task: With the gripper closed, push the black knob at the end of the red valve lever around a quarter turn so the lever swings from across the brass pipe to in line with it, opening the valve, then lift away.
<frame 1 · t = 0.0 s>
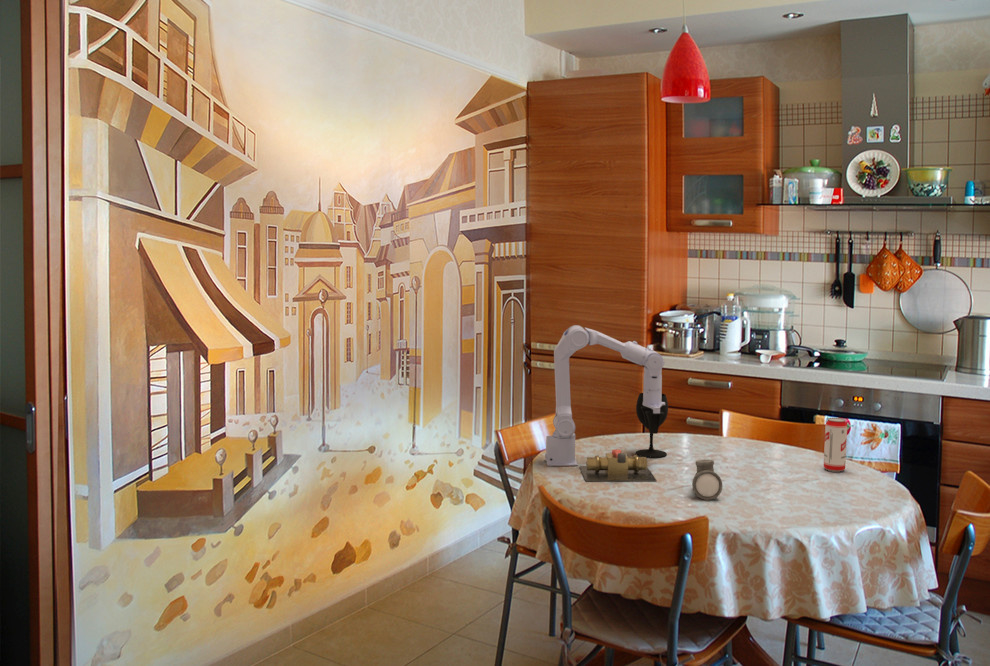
hand: (651, 431, 272), 10 cm above the table, fingers open, 6 cm apart
beer can: (834, 470, 264), on the table
valve: (616, 473, 261), on the table
lever: (619, 454, 256), point 7 cm above the table, hinge at 0.0°
wine glass: (651, 454, 283), on the table, touching gripper
pipe fitting: (705, 494, 241), on the table
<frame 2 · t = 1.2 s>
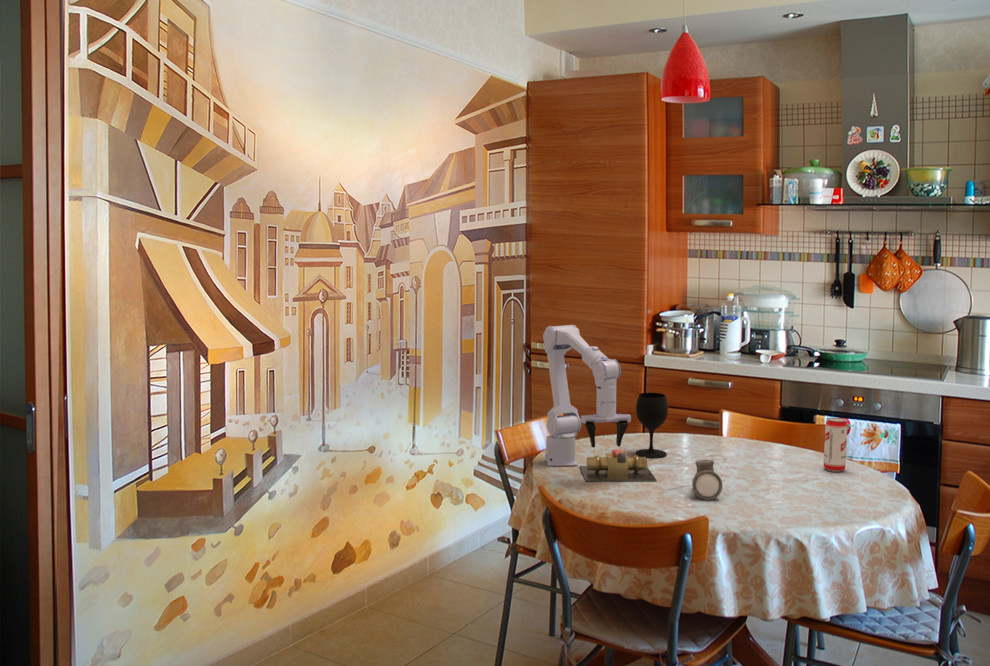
hand: (605, 446, 252), 10 cm above the table, fingers open, 7 cm apart
wine glass: (650, 454, 283), on the table
everything else where it was.
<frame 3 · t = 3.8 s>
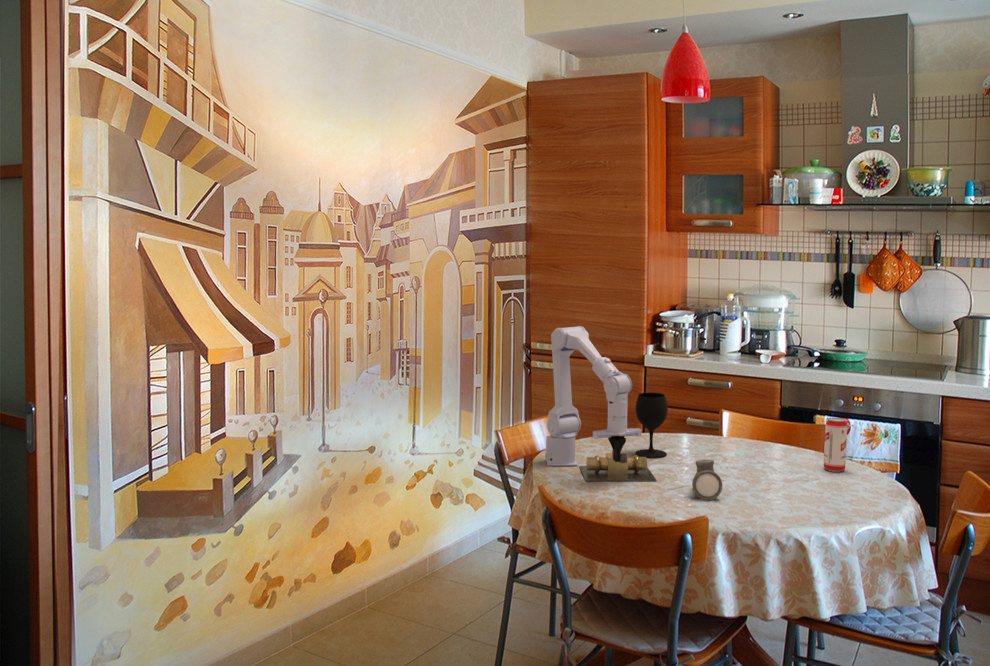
hand: (616, 460, 252), 6 cm above the table, fingers closed, pressing on lever
lever: (619, 454, 256), point 7 cm above the table, hinge at 2.7°, touching gripper
everything else where it was.
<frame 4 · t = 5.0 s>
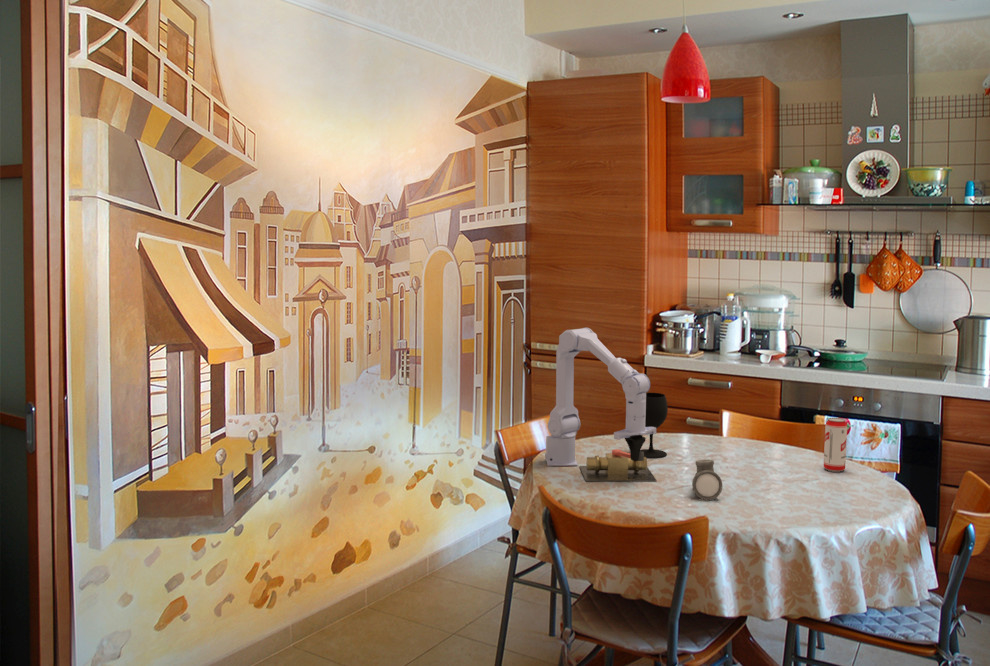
hand: (634, 460, 253), 6 cm above the table, fingers closed, pressing on lever
lever: (627, 453, 257), point 7 cm above the table, hinge at 39.9°, touching gripper
everything else where it was.
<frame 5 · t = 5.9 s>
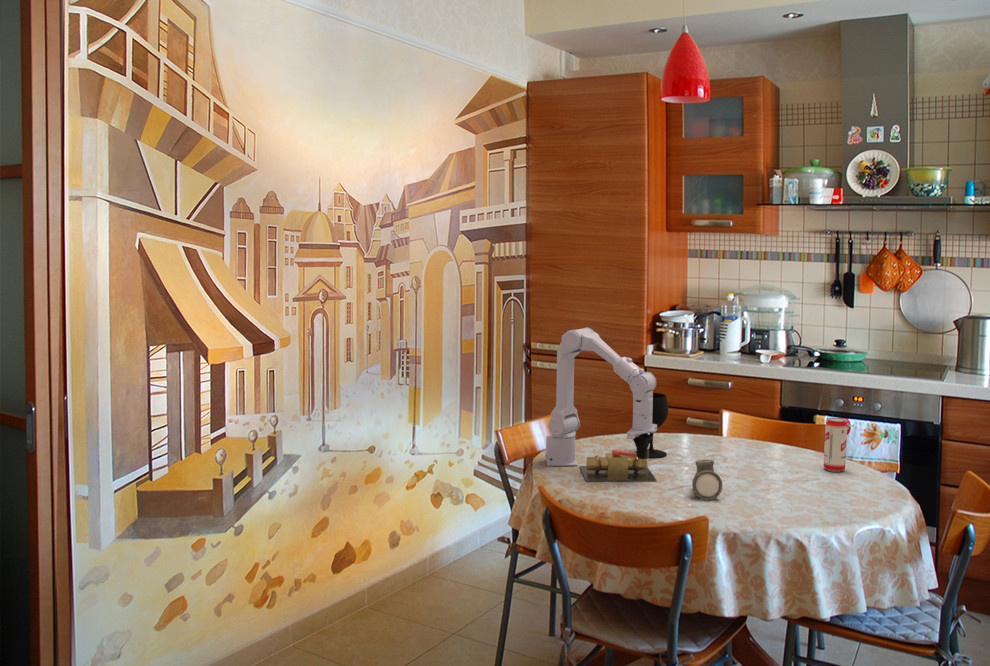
hand: (641, 458, 254), 6 cm above the table, fingers closed, pressing on lever
lever: (630, 452, 258), point 7 cm above the table, hinge at 59.1°, touching gripper
everything else where it was.
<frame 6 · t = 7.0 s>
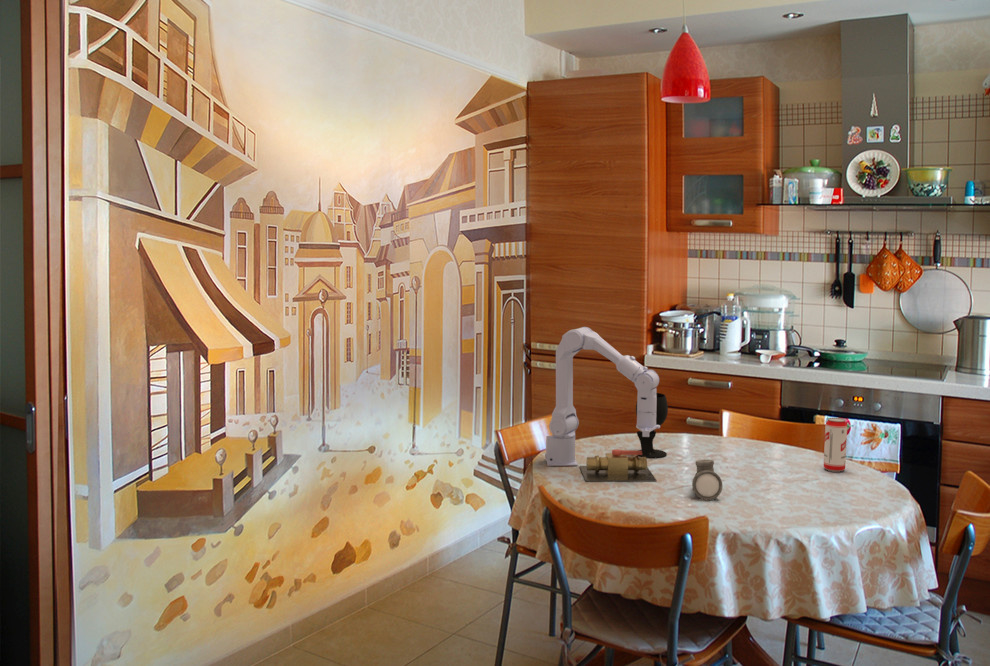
hand: (646, 454, 258), 6 cm above the table, fingers closed, pressing on lever
lever: (631, 450, 260), point 7 cm above the table, hinge at 86.8°, touching gripper
everything else where it was.
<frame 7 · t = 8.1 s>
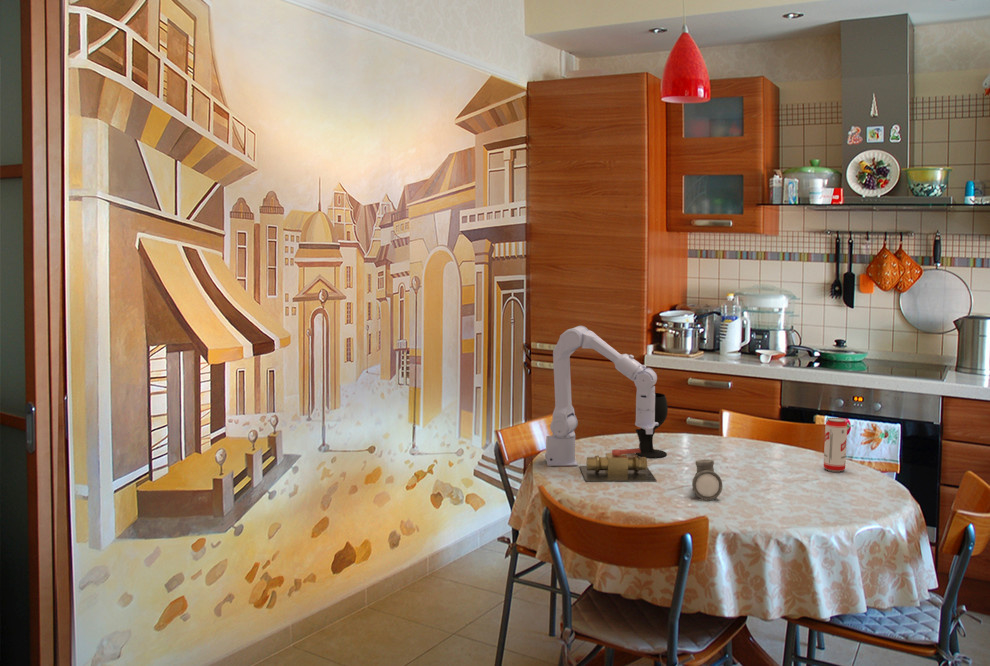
hand: (644, 452, 261), 6 cm above the table, fingers closed, pressing on lever
lever: (629, 449, 262), point 7 cm above the table, hinge at 108.0°, touching gripper
everything else where it was.
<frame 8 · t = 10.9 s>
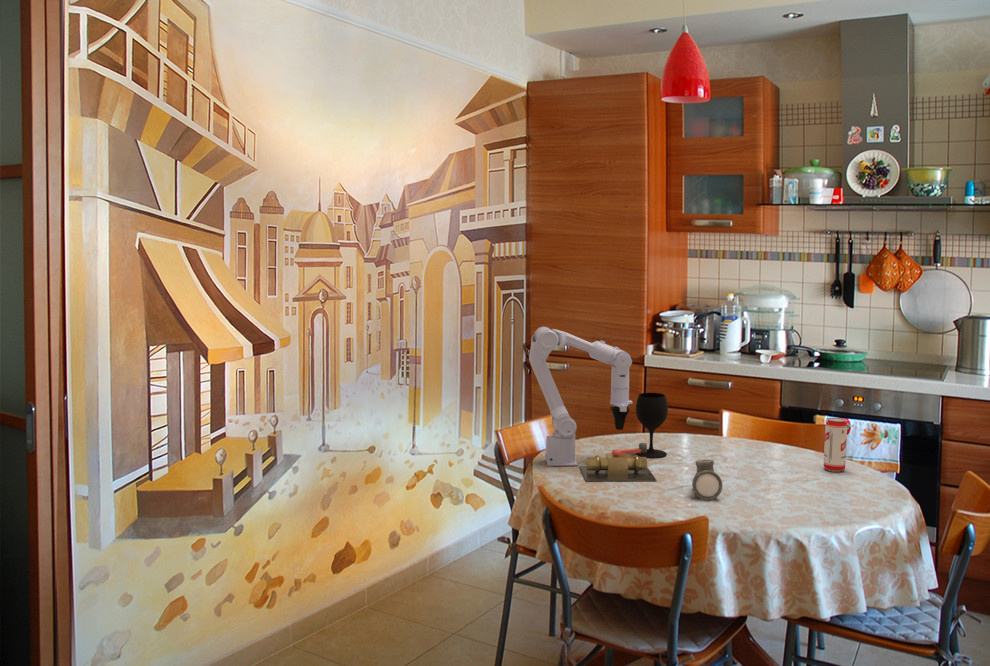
hand: (619, 429, 274), 10 cm above the table, fingers closed
lever: (629, 449, 262), point 7 cm above the table, hinge at 108.5°
everything else where it was.
at the end: lever at +108° (first picture: +0°); lever touching nothing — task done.
